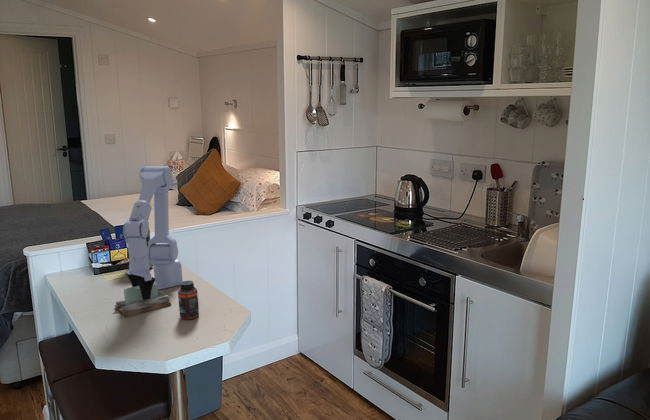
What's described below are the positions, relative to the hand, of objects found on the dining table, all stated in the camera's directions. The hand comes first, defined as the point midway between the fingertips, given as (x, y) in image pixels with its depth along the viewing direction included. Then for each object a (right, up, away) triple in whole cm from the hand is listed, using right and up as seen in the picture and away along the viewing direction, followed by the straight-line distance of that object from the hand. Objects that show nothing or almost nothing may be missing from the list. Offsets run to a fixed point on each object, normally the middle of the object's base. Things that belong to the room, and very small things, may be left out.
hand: (142, 296), depth 173 cm
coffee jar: (-14, +5, +41) cm, 44 cm away
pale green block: (0, -3, 0) cm, 3 cm away
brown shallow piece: (0, -4, +1) cm, 4 cm away
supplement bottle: (+18, -5, -8) cm, 20 cm away
